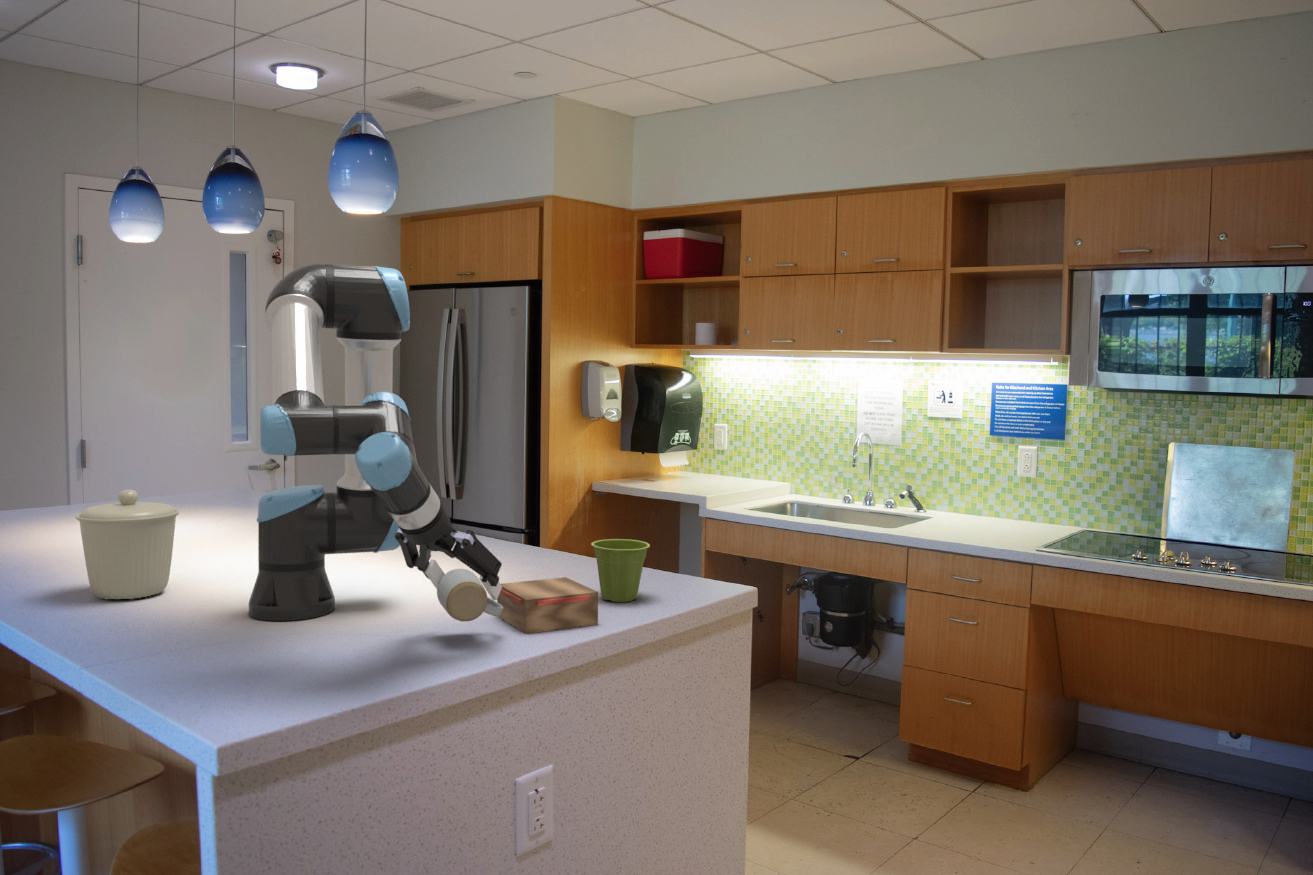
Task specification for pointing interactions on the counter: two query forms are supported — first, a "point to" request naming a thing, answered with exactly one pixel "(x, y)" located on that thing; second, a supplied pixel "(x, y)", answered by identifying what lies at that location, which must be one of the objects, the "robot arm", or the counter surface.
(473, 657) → the counter surface
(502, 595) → the wooden box
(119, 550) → the canister
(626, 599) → the plant pot
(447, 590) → the ceramic mug
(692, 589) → the counter surface
